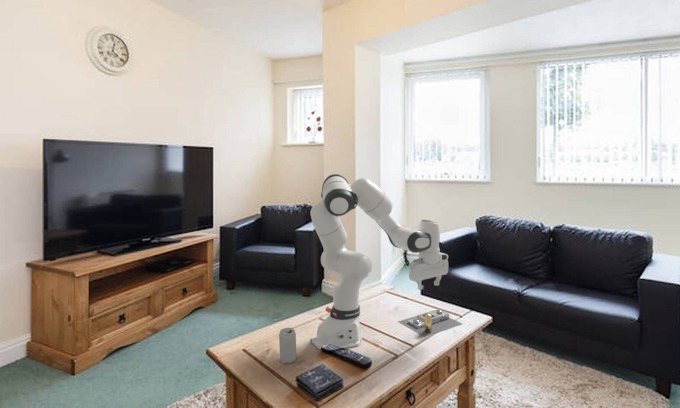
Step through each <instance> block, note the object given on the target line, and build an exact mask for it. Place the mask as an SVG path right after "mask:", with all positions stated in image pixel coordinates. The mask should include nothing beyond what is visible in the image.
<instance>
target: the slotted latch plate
mask: <svg viewBox="0 0 680 408" xmlns="http://www.w3.org/2000/svg"><path fill="white" fill-rule="evenodd" d="M425 313H430V314H432V324H434V323H437V322H440V321H443V320H446V319H449V318H450V313H448V312H446V311H444V310H442V309H439V308H436V309H434V310H431V311H426V312H423V313H420V314H417V315H416V316H417V318H414V319H411V320H408V323H409V324H410V325H412V326H414V327H416V328H417V329H418V328H421V327H424V326H425Z"/></svg>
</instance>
